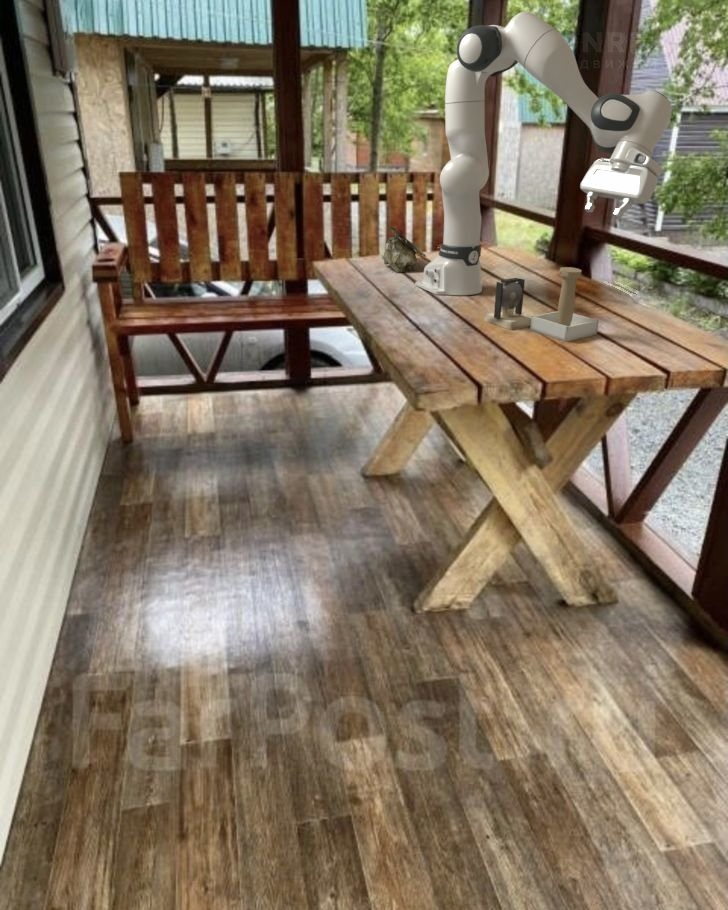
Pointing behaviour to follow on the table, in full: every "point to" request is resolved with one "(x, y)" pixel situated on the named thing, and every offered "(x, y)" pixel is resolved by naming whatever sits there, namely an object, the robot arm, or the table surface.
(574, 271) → the handle
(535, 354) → the table surface
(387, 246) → the hollow geode rock
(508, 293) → the pulley block
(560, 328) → the tray
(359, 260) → the table surface
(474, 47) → the robot arm
